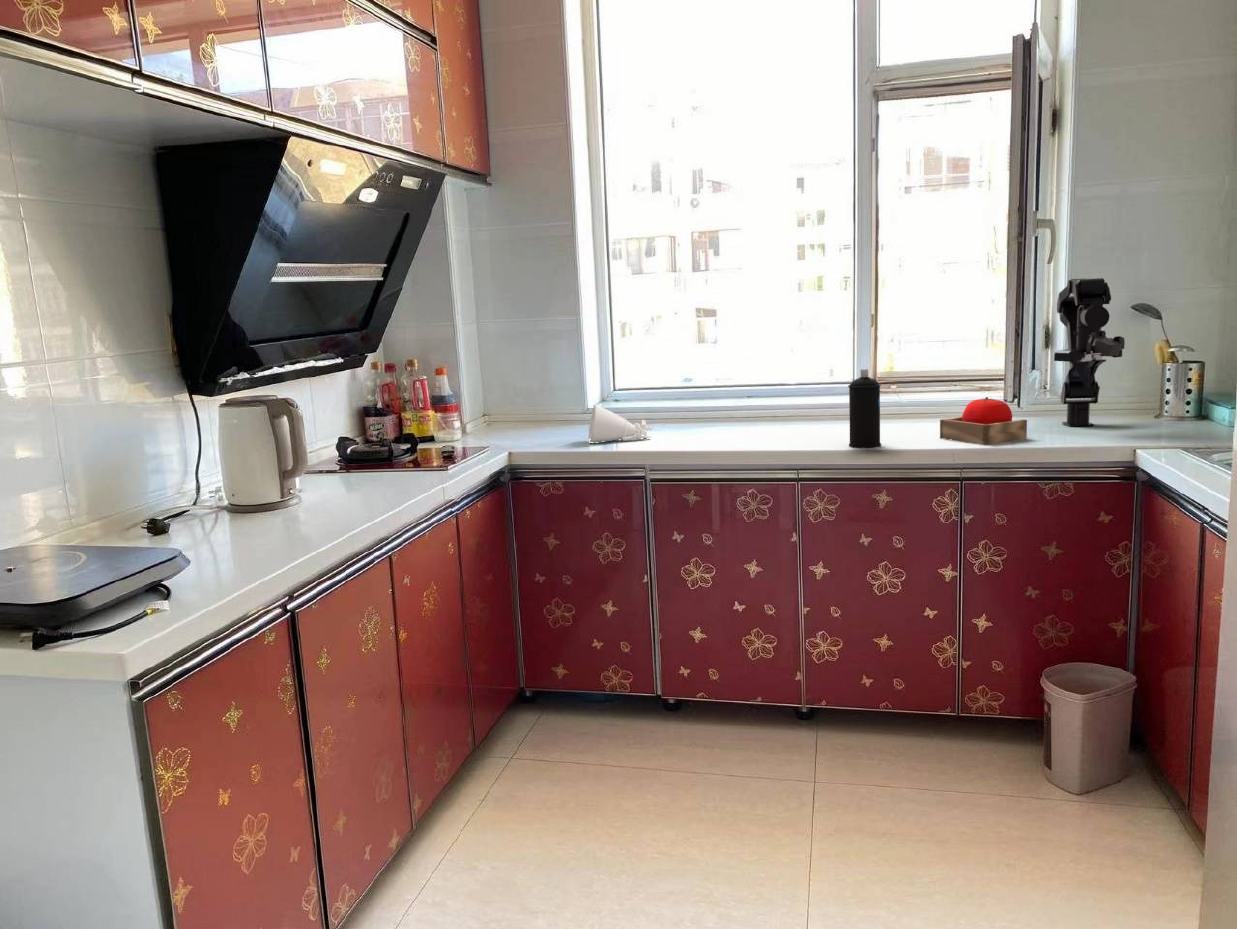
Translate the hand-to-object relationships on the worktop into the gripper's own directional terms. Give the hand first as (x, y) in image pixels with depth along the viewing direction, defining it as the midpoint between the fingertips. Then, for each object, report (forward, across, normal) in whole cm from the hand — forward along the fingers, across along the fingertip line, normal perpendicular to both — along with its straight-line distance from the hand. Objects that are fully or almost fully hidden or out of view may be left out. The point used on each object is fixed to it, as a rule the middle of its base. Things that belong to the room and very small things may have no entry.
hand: (1087, 386), depth 255 cm
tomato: (+12, -26, +8) cm, 30 cm away
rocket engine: (+12, -104, +72) cm, 128 cm away
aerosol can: (+12, -57, +20) cm, 62 cm away
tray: (+12, -27, +8) cm, 31 cm away
